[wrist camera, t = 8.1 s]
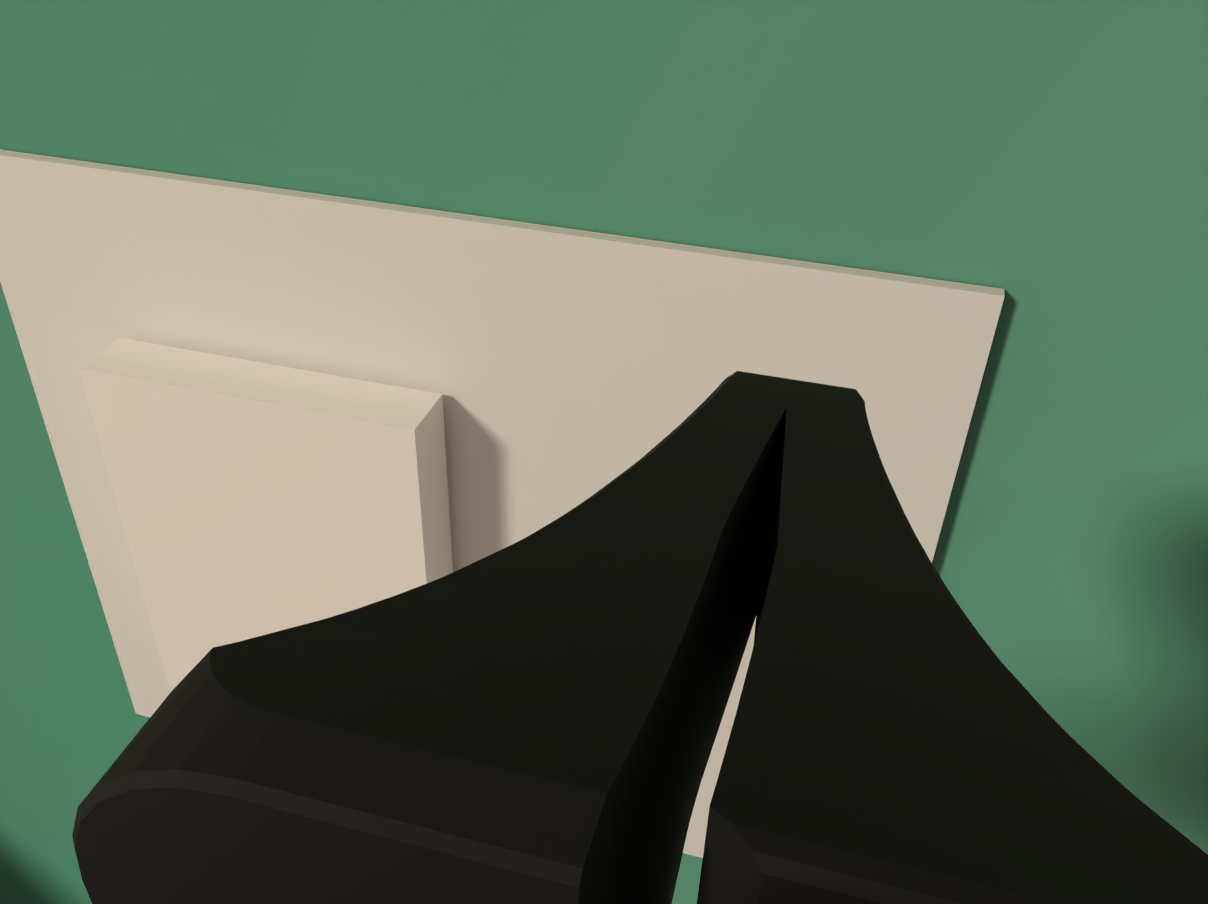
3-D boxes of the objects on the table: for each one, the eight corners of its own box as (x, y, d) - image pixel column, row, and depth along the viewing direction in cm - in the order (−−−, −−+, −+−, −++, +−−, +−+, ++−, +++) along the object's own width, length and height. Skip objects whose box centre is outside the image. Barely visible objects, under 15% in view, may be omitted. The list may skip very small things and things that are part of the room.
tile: (414, 429, 22) (78, 368, 23) (439, 752, 27) (167, 684, 29) (445, 389, 23) (126, 334, 25) (464, 704, 29) (202, 642, 30)
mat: (1004, 289, 19) (1004, 296, 19) (842, 883, 29) (841, 893, 29) (-31, 145, 23) (-41, 149, 23) (141, 706, 34) (136, 713, 33)
